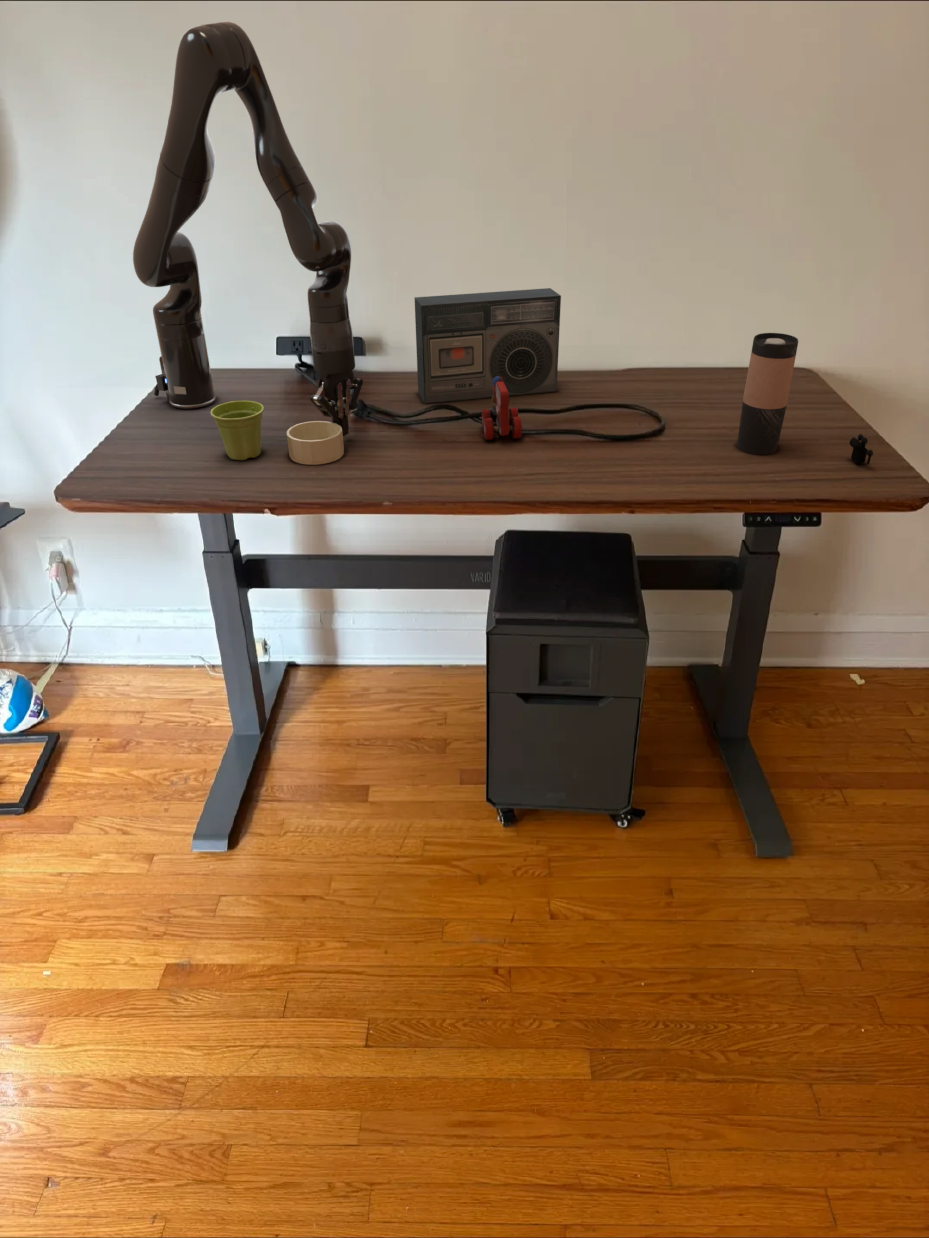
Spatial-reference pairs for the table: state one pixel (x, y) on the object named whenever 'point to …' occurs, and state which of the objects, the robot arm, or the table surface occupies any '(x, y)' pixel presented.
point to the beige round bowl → (315, 442)
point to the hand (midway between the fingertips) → (341, 435)
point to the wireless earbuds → (860, 450)
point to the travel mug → (766, 392)
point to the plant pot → (240, 428)
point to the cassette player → (487, 343)
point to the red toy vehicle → (501, 414)
